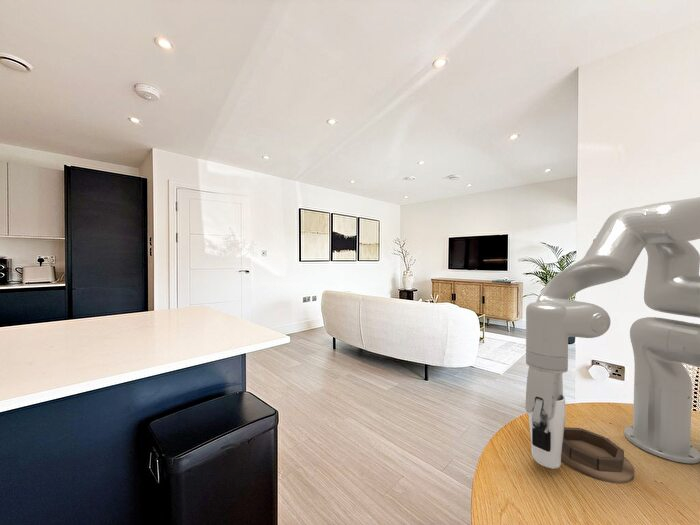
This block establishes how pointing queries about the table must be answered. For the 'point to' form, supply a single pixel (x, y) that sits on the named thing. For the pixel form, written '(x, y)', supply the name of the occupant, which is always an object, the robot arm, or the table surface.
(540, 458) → the drinking glass
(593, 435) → the glass holder
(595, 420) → the table surface
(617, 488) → the table surface
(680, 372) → the robot arm
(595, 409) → the table surface
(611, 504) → the table surface
